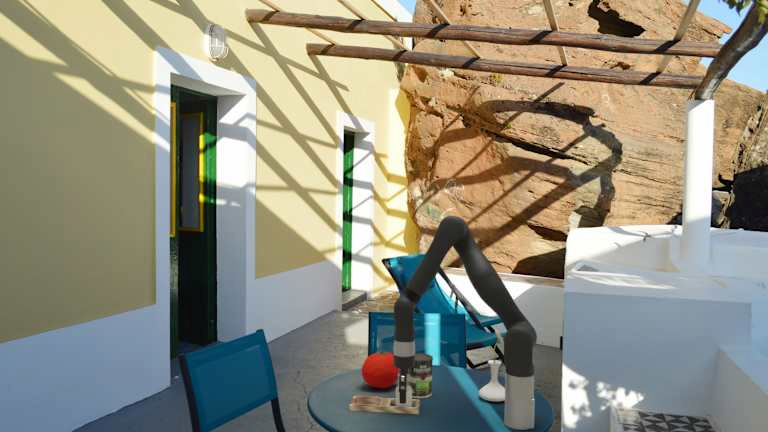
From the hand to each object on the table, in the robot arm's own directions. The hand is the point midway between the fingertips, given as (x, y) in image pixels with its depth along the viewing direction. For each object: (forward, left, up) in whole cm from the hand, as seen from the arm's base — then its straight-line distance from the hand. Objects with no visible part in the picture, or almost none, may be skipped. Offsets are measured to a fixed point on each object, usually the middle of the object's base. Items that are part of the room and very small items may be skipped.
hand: (403, 399), depth 213 cm
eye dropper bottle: (0, 0, -4) cm, 4 cm away
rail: (+6, 0, -3) cm, 7 cm away
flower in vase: (-33, -15, -4) cm, 36 cm away
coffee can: (-5, -16, -4) cm, 17 cm away
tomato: (+10, -21, -4) cm, 24 cm away
